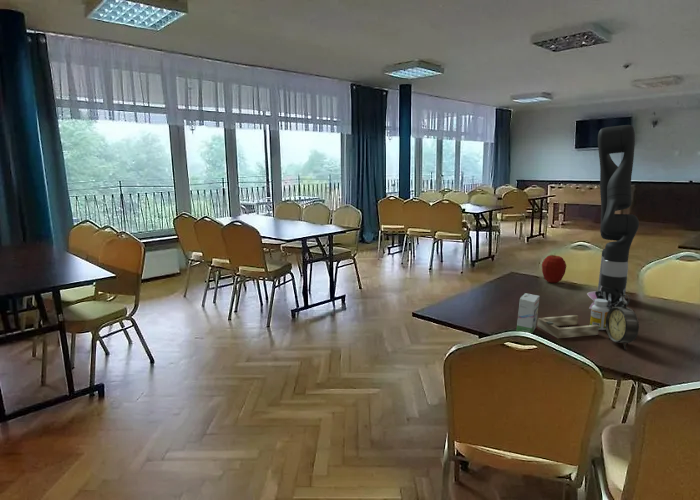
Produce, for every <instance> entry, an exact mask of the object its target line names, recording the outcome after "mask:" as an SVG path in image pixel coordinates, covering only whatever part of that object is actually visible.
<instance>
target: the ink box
mask: <svg viewBox="0 0 700 500" xmlns="http://www.w3.org/2000/svg"><path fill="white" fill-rule="evenodd" d="M518 302H519V305H518V313H517V321H516V331H524V332H529V333H532V334H533V333H534V331H535V329H536V328H537V324H538V315H539V313H538V312H539V306H540V305H539V304H540V295H537V294H531V293H525V292H524V294H523V295H521V296H520V298H519V301H518ZM516 331H515V332H516Z"/></svg>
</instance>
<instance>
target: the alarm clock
mask: <svg viewBox="0 0 700 500" xmlns="http://www.w3.org/2000/svg"><path fill="white" fill-rule="evenodd" d="M624 295H625V297H627V299H628V300H627V301H629V302H628V304H626V303H624V301H623V297H624ZM624 295H623V296H622V301H623V303H624V304H623V307H613V308H611V309H610V310H609V311H608V313H607V316H606V329H605V330H606V334H607V336H608V340H611V341H612V342H614V343H617V344H618V343H620V344H621V343H622V345H623V348H624V349H623V350H624V351H626V350H627V345H629V343H633V342H634V341H635V340H636V339H637V336H638V334H639V330H640V322H639V319H638V315H637V314H636V312H635V311H634V310H633V309H632V308H629V307H627V306H628V305H629V304H630V302H631V301H630V296H629V295H628V294H626V293H625V294H624ZM626 305H627V306H626Z"/></svg>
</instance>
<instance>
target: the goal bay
mask: <svg viewBox="0 0 700 500" xmlns="http://www.w3.org/2000/svg"><path fill="white" fill-rule="evenodd" d="M578 321H579V315H577V314H570V315H569V314H568V315H559V316H558V315H557V316H547V317H537V324H536V328H537V327H538V328H539V329H541V330H542V331H544V332H546V333H548V334H550V335H551V336H553V337H555V338H556V339H565V338H567V339H568V338H577V337H578V338H579V337H588V336H596V335H599V331H600V330H599V326H598V325H590V324H589V325H578ZM572 325H577V326H572ZM560 326H561V327H560ZM562 326H563V327H562ZM564 326H565V327H564ZM566 326H567V327H566ZM568 326H569V327H568Z"/></svg>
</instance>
